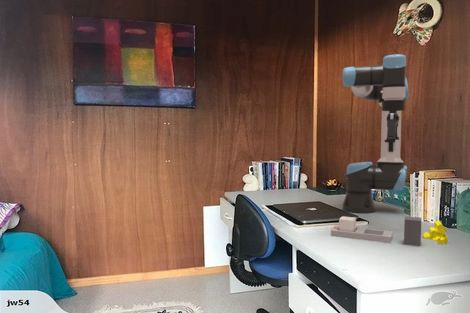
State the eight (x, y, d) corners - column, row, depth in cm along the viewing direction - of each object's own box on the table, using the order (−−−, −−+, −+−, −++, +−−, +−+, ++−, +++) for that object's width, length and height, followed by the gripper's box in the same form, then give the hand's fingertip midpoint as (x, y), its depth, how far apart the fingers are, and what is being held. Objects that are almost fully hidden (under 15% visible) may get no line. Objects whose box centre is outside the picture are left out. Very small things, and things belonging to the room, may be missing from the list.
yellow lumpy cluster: (419, 239, 138) (420, 218, 137) (442, 239, 138) (443, 218, 137) (427, 244, 132) (428, 222, 131) (451, 244, 132) (451, 222, 131)
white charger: (341, 232, 143) (342, 216, 142) (355, 233, 141) (355, 217, 140) (339, 235, 138) (339, 219, 138) (353, 237, 136) (353, 220, 136)
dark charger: (404, 241, 132) (405, 216, 132) (420, 243, 130) (421, 217, 130) (403, 245, 128) (404, 219, 127) (420, 247, 126) (421, 220, 125)
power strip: (335, 233, 145) (335, 224, 145) (392, 240, 136) (392, 230, 136) (331, 239, 138) (331, 229, 138) (390, 246, 129) (391, 236, 129)
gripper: (384, 101, 149) (383, 155, 151) (379, 98, 127) (377, 162, 129) (405, 100, 146) (404, 156, 148) (403, 98, 123) (401, 163, 126)
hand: (391, 159), depth 138 cm, fingers open, 13 cm apart
